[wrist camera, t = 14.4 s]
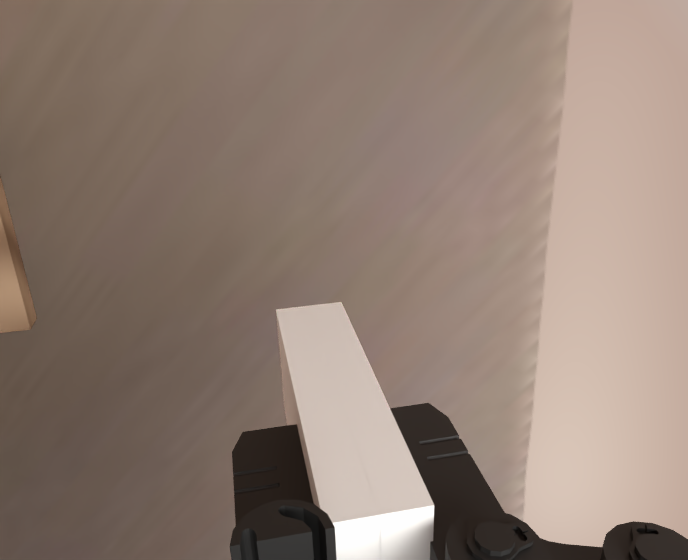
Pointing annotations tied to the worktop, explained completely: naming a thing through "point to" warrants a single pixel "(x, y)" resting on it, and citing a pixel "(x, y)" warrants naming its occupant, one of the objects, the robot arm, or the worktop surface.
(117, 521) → the worktop surface
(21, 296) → the walnut board
